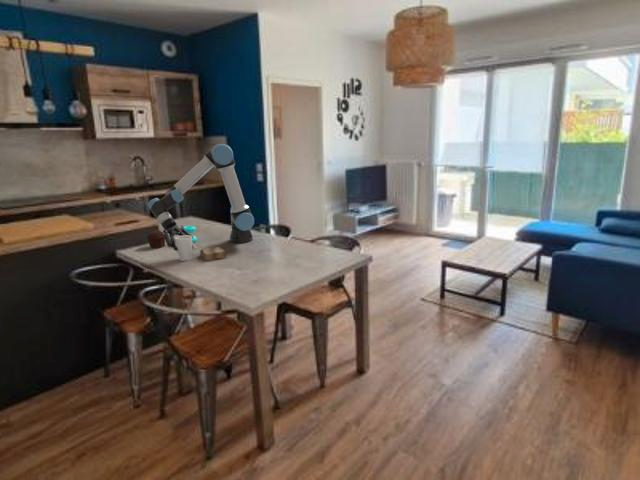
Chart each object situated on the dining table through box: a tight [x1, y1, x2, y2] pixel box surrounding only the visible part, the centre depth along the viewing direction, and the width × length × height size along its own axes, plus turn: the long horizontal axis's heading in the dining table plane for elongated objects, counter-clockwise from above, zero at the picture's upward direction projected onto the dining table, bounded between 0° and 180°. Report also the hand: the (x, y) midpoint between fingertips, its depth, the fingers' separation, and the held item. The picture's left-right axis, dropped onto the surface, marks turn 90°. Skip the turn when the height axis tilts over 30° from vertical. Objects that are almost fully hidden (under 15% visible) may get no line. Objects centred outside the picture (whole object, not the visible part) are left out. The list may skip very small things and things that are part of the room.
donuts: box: [183, 225, 198, 243], centre depth 271 cm, size 10×10×10 cm
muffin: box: [146, 230, 166, 249], centre depth 261 cm, size 12×11×10 cm
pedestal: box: [199, 246, 227, 262], centre depth 239 cm, size 12×12×4 cm
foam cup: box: [174, 235, 193, 262], centre depth 234 cm, size 10×9×13 cm
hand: (188, 251), depth 233 cm, fingers closed on foam cup, 9 cm apart
